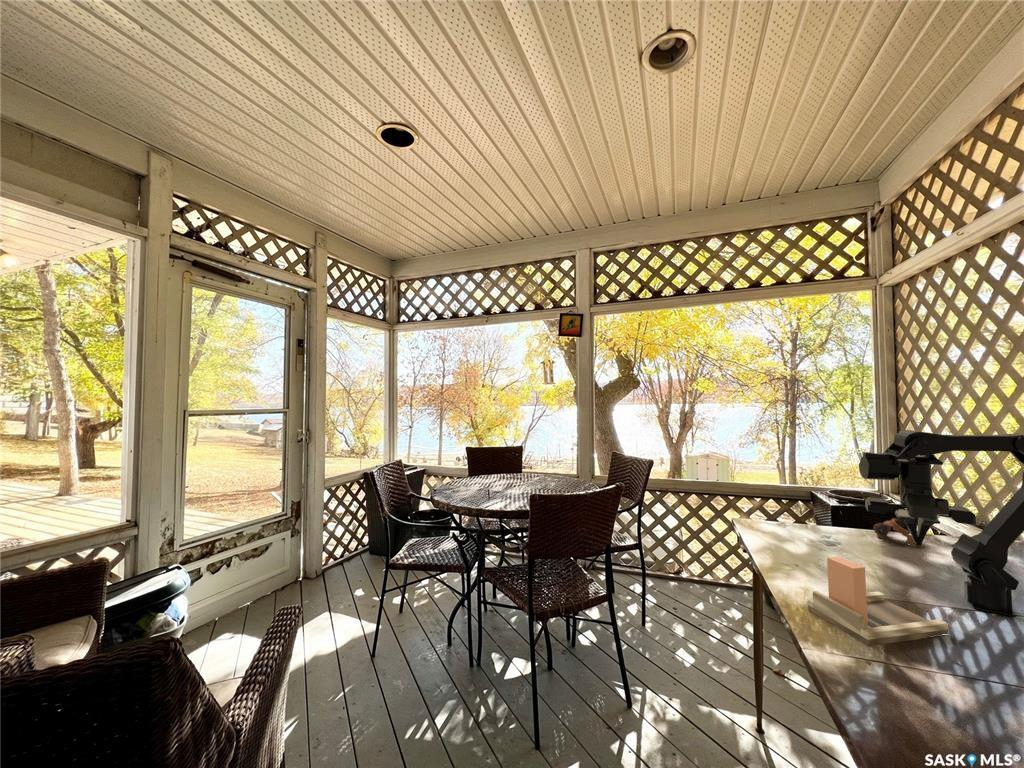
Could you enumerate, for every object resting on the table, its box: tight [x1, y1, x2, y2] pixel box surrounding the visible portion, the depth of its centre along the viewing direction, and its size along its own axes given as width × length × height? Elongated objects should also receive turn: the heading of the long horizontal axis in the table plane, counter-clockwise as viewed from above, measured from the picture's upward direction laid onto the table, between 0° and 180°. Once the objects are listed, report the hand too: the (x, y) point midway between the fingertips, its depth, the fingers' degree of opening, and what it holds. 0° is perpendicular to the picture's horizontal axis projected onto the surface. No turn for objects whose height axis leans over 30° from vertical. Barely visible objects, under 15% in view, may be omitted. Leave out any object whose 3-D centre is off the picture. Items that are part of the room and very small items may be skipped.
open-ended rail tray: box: [807, 590, 949, 647], centre depth 90 cm, size 20×14×5 cm
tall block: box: [826, 556, 868, 625], centre depth 89 cm, size 3×6×12 cm, turn 9°
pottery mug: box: [872, 517, 917, 545], centre depth 137 cm, size 12×10×8 cm
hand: (917, 545), depth 100 cm, fingers closed
